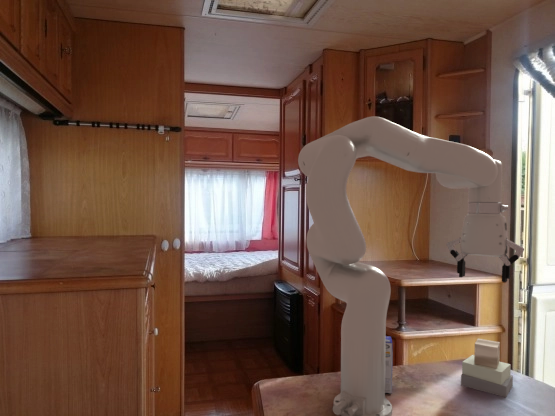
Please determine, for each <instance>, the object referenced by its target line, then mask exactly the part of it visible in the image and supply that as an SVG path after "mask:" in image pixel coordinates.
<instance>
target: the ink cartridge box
mask: <svg viewBox="0 0 555 416" xmlns="http://www.w3.org/2000/svg"><path fill="white" fill-rule="evenodd" d="M392 390H393V339H392V336H387V335H386V351H385V394H393V391H392Z"/></svg>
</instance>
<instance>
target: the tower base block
mask: <svg viewBox="0 0 555 416" xmlns="http://www.w3.org/2000/svg"><path fill="white" fill-rule="evenodd" d="M513 380H514V377H513V375H512V374H510V377H509V378H508V379H507V380H506V381H505V382H504V383H503V384H502V385H500V384H496V383H493V382H489V381H486V380H482V379H479V378H475V377H472V376H468V375H465V374H462V373H461V375H460V386H461V387H466V388H470V389H474V390H478V391H481V392H485V393H488V394H491V395H492V394H493V395H497V396H500V397H503V398H507V397H508V395H509V393H510V392H511V390H512V388H513V385H514V384H513V383H514V381H513Z"/></svg>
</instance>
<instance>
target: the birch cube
mask: <svg viewBox="0 0 555 416" xmlns="http://www.w3.org/2000/svg"><path fill="white" fill-rule="evenodd" d="M500 347H501V342H500V341H495V340H489V339H484V338H477V339H476V341H475V343H474V354H473V355H474V364H478V365H482V366H487V367H492V368H497V367H498V365H499V362H500V355H501V354H500V353H501V352H500V350H501V349H500Z"/></svg>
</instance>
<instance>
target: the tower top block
mask: <svg viewBox="0 0 555 416" xmlns="http://www.w3.org/2000/svg"><path fill="white" fill-rule="evenodd" d="M461 362H462V363H461V365H462V367H461V375H462V374H465V375H468V376H472V377H475V378H479V379H482V380H486V381H489V382H493V383H496V384H500V385H502V384H503V383H504V382H505V381H506V380H507V379H508V378H509V377H510V375H511V367H512V366H511V364H510V363H506V362H503V361H499V365H498V367H497V368H492V367H487V366H482V365H478V364H474V354H471V355H470V356H468V357H467V358H466V359H464V360H463V361H461Z"/></svg>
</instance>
